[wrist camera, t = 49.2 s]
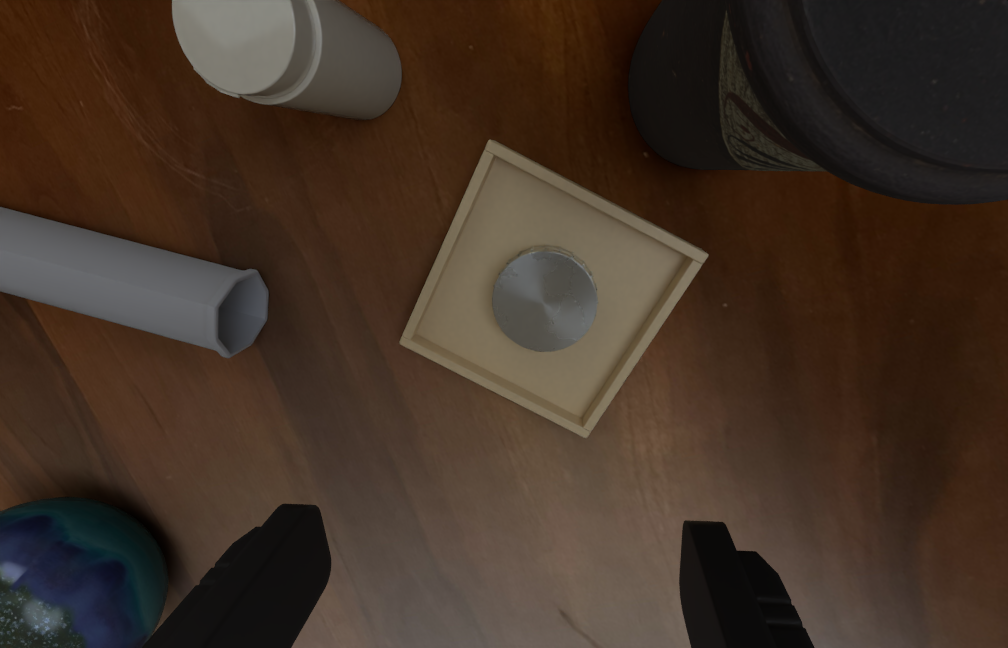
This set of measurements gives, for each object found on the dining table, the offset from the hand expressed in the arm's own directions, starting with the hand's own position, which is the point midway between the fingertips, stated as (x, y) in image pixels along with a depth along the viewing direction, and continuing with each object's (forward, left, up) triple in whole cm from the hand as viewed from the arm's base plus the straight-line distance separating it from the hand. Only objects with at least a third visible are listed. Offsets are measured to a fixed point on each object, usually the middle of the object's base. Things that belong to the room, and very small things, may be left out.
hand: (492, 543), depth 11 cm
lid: (0, 0, -18) cm, 18 cm away
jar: (-6, -15, -20) cm, 26 cm away
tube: (+12, -28, -20) cm, 37 cm away
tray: (0, 0, -20) cm, 20 cm away
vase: (+37, -22, -20) cm, 48 cm away
